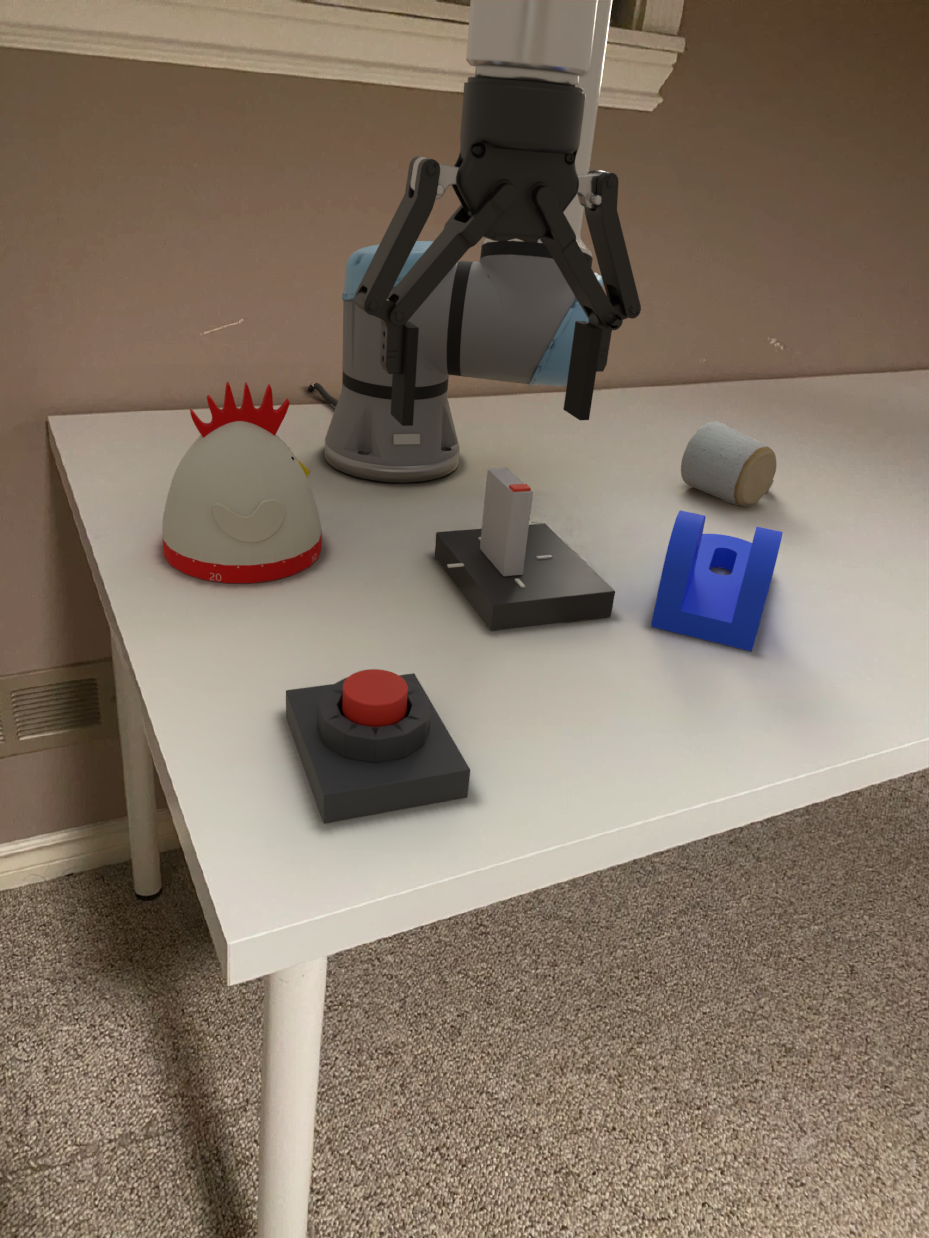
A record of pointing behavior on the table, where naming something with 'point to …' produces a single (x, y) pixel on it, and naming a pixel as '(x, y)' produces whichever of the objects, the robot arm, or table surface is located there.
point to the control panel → (525, 581)
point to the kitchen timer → (241, 499)
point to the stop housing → (374, 755)
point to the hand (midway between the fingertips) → (491, 418)
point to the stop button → (374, 698)
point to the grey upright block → (506, 521)
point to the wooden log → (728, 464)
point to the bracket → (715, 583)
